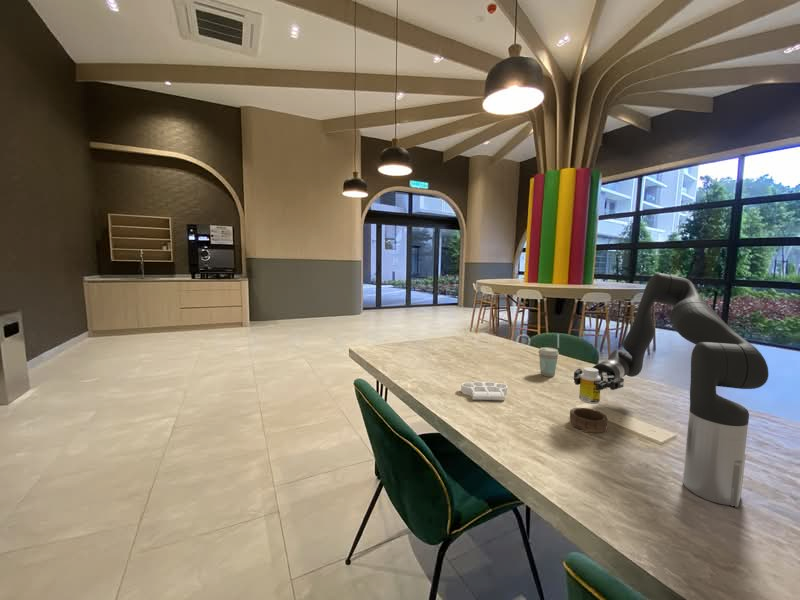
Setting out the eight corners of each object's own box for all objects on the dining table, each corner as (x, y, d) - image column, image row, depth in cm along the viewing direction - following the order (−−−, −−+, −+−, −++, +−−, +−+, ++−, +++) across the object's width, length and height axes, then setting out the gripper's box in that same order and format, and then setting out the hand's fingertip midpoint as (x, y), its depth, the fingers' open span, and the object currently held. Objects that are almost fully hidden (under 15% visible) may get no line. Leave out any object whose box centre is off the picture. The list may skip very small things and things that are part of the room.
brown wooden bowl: (611, 426, 104) (612, 415, 103) (598, 436, 97) (599, 425, 97) (577, 415, 111) (578, 405, 111) (564, 424, 105) (564, 413, 105)
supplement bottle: (593, 406, 100) (595, 373, 99) (575, 400, 105) (577, 368, 104) (603, 402, 103) (605, 369, 102) (585, 396, 108) (586, 365, 107)
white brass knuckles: (464, 402, 123) (459, 387, 138) (513, 403, 122) (503, 388, 137) (464, 393, 123) (459, 379, 138) (513, 394, 122) (503, 380, 137)
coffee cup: (539, 370, 159) (540, 346, 158) (558, 373, 155) (560, 348, 153) (536, 375, 152) (537, 350, 150) (556, 379, 147) (557, 352, 146)
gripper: (585, 357, 117) (563, 366, 107) (633, 366, 106) (614, 378, 96) (584, 377, 118) (562, 389, 107) (632, 389, 107) (612, 403, 96)
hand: (587, 384), depth 102 cm, fingers closed on supplement bottle, 5 cm apart
